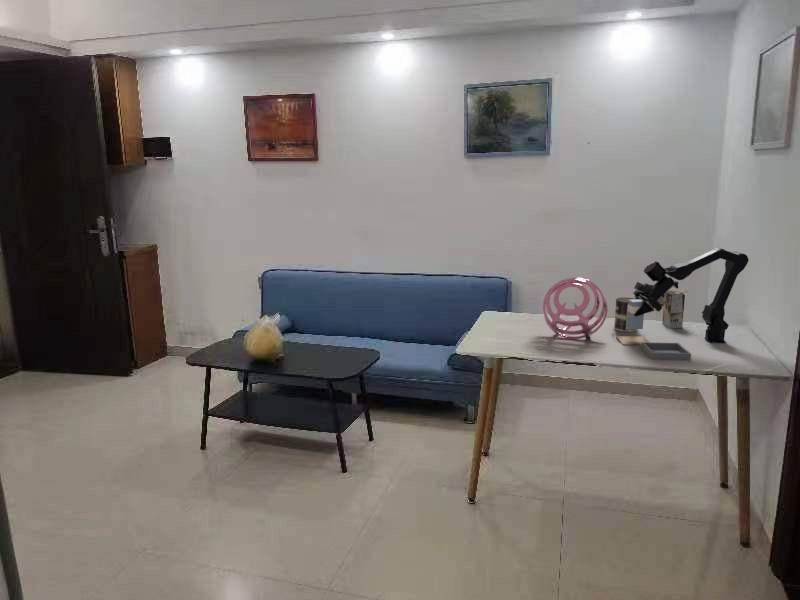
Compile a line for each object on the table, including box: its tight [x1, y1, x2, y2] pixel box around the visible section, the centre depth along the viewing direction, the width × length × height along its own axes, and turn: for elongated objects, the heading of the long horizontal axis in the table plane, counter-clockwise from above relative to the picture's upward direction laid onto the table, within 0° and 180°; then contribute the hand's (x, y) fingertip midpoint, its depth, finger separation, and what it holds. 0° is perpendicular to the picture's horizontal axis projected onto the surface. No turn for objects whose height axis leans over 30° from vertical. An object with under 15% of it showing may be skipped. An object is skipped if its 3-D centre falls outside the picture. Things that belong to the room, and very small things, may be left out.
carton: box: [627, 299, 645, 330], centre depth 251 cm, size 5×5×12 cm
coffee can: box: [613, 297, 638, 333], centre depth 273 cm, size 10×10×14 cm
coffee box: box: [661, 290, 686, 329], centre depth 277 cm, size 9×6×16 cm
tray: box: [641, 341, 692, 361], centre depth 236 cm, size 15×15×3 cm
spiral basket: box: [542, 277, 608, 340], centre depth 263 cm, size 28×28×27 cm
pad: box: [615, 335, 650, 347], centre depth 253 cm, size 12×12×1 cm
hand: (632, 314), depth 251 cm, fingers closed on carton, 5 cm apart
